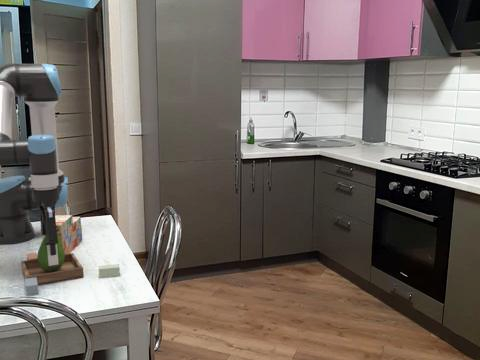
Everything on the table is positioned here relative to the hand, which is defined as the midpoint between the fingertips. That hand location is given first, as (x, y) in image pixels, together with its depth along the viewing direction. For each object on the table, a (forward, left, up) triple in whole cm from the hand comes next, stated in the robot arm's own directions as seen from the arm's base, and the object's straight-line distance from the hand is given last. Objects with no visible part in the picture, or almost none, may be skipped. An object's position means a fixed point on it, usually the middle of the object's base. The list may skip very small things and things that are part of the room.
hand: (51, 260), depth 150 cm
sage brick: (+10, +15, -5) cm, 19 cm away
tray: (0, 0, -4) cm, 4 cm away
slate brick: (+11, -7, -5) cm, 14 cm away
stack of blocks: (-22, +8, -5) cm, 24 cm away
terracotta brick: (-12, -4, -5) cm, 14 cm away
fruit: (0, 0, -4) cm, 4 cm away
